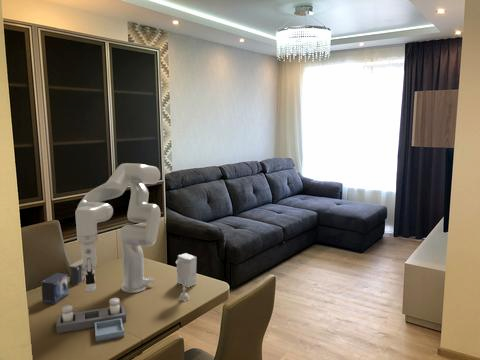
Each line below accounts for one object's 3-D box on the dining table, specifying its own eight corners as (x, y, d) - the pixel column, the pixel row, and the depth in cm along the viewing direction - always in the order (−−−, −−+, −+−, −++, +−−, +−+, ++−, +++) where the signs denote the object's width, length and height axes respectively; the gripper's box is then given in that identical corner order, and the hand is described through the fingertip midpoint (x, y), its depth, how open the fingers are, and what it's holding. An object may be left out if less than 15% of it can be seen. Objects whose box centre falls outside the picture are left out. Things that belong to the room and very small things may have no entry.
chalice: (194, 296, 187) (194, 260, 184) (188, 303, 181) (187, 265, 178) (180, 294, 189) (179, 258, 186) (173, 300, 183) (172, 263, 180)
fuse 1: (73, 322, 164) (72, 304, 162) (73, 327, 160) (72, 308, 159) (63, 324, 162) (61, 305, 161) (62, 329, 159) (61, 310, 157)
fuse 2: (119, 314, 170) (119, 297, 169) (120, 319, 166) (119, 301, 165) (109, 316, 169) (109, 298, 167) (110, 321, 165) (109, 302, 164)
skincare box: (176, 283, 201) (176, 255, 199) (185, 280, 206) (185, 252, 203) (188, 288, 196) (187, 259, 193) (197, 284, 200) (196, 256, 198)
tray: (121, 323, 163) (121, 318, 163) (124, 336, 154) (123, 330, 153) (95, 328, 159) (94, 322, 159) (95, 342, 150) (95, 336, 150)
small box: (54, 305, 178) (53, 283, 176) (42, 303, 179) (40, 281, 178) (69, 294, 188) (68, 273, 187) (57, 293, 190) (55, 272, 188)
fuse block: (124, 311, 173) (123, 304, 173) (126, 321, 165) (125, 314, 164) (58, 322, 164) (57, 315, 163) (56, 333, 156) (56, 326, 155)
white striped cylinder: (95, 287, 165) (94, 268, 163) (96, 291, 161) (95, 272, 160) (85, 288, 163) (84, 270, 162) (85, 292, 160) (84, 273, 158)
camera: (76, 286, 198) (75, 266, 196) (67, 284, 199) (65, 265, 198) (91, 277, 208) (90, 258, 207) (82, 275, 210) (81, 257, 208)
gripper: (98, 243, 152) (101, 288, 155) (96, 230, 167) (99, 272, 171) (76, 245, 149) (80, 291, 153) (77, 232, 165) (80, 274, 168)
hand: (90, 280), depth 162 cm, fingers closed on white striped cylinder, 4 cm apart
